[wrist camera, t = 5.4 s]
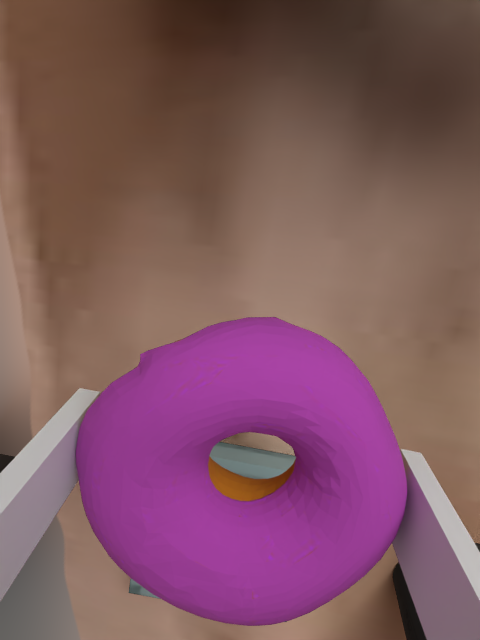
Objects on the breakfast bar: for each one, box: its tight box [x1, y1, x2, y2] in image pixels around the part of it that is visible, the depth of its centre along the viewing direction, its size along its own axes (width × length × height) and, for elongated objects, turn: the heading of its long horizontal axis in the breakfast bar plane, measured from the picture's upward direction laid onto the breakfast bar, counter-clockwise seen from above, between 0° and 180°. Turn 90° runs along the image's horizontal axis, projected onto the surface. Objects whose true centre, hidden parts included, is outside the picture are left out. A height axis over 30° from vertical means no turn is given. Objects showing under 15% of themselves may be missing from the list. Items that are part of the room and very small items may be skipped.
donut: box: [75, 317, 407, 626], centre depth 14 cm, size 10×10×5 cm
